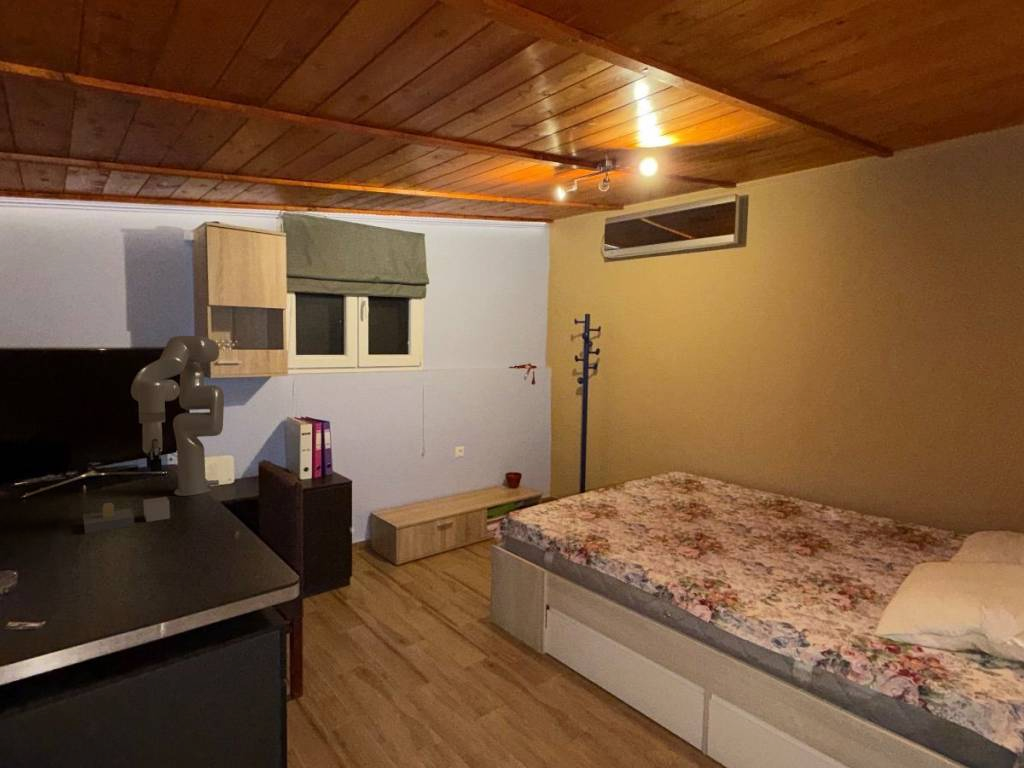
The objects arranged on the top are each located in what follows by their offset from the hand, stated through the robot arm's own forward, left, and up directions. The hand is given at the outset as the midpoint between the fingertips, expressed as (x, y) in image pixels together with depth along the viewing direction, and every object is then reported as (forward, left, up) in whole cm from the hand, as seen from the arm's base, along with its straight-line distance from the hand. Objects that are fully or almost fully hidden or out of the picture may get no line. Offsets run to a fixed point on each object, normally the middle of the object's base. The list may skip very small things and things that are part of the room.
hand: (154, 469), depth 203 cm
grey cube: (0, 0, -17) cm, 17 cm away
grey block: (+13, 0, -17) cm, 21 cm away
